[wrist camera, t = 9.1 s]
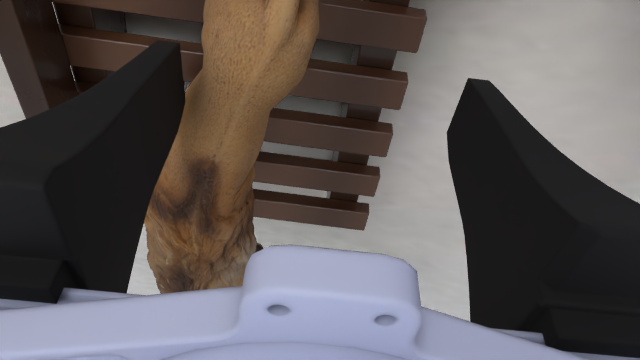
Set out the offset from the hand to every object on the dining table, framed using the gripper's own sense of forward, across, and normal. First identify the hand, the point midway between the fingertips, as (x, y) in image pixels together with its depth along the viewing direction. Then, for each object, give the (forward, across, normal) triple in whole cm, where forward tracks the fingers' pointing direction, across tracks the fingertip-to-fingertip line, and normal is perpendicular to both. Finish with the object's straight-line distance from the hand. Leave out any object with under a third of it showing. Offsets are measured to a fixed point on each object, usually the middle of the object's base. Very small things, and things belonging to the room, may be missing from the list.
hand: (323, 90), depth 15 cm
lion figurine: (+6, +3, +3) cm, 7 cm away
